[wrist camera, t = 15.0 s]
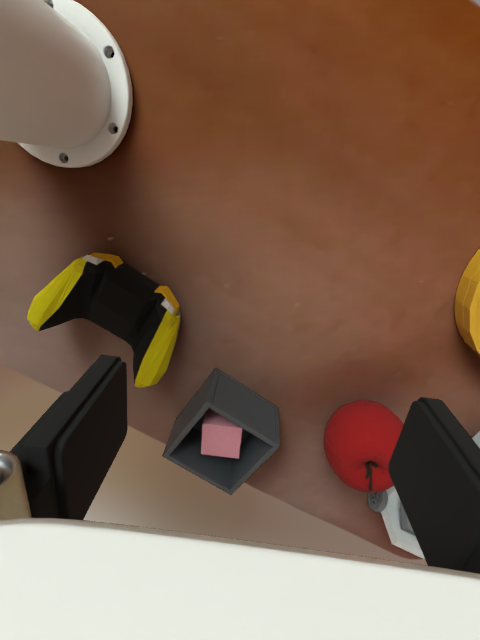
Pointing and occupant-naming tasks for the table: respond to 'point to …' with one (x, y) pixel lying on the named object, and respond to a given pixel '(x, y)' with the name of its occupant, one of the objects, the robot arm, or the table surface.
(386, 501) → the toy car
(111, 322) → the gaming controller
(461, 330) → the mustard bowl
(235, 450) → the pink block
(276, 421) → the grey bin
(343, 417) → the apple
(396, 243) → the table surface
